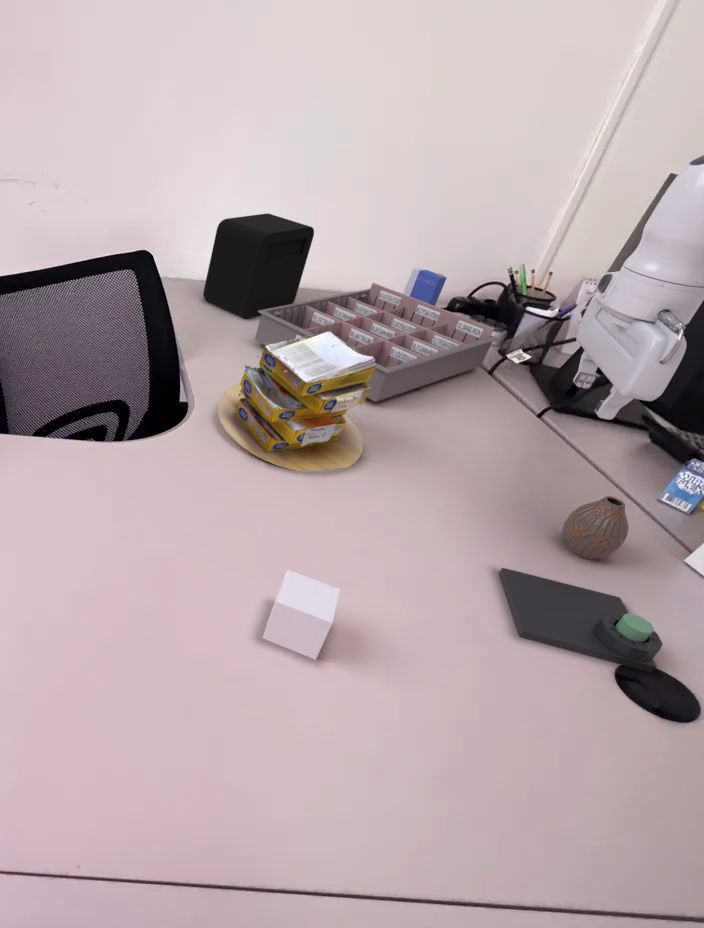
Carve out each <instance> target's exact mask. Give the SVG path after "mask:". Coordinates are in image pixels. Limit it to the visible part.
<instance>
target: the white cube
mask: <svg viewBox="0 0 704 928" xmlns="http://www.w3.org/2000/svg"><path fill="white" fill-rule="evenodd" d="M340 591H341V589H340V588H338V587H335V586H333V585H330V584H327V583H325V582H323V581H320V580H317V579H313V578H311V577H308V576H305V575H302V574H300V573H297V572H294V571H293V570H289V569H286V571H285V574H284V576H283V579H282V582H281V584H280V587H279V590H278V593H277V595H276V597H275V601H274V603H273V606H272V609H271V611H270V615H269V617H268V621H267V623H266V627H265V630H264V631H263V634H262V635H263V636H262V639H263V640H265V641H268V642H270V643H274V644H275V645H278V646H281V647H282V648H285V649H288V650H291V651H293V652H296V653H298V654H300V655H303V656H305V657H308V658H310V659H313V660H315V661H316V660H317V658H318V656H319V653H320V651H321V649H322V648H323V645H324V643H325V640H326V638H327V636H328V634H329V632H330V629H331V627H332V626H333V622H334V619H335V613H336V609H337V604H338V600H339V595H340Z"/></svg>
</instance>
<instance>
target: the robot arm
mask: <svg viewBox="0 0 704 928" xmlns="http://www.w3.org/2000/svg"><path fill="white" fill-rule="evenodd" d="M595 290H596V291H597V292H596V293H595V294H594V295H593V296H592V297H591V300H590V301H589V303H588V306H587V307H586V310H585V311H584V313H583V316H582V318H581V320H580V322H579V324H578V326H577V329H576V333H575V340H576V342H577V343H578V344H579V345H580V347H581V348H582V349H583V352H582V354H581V355H580V356H581V357H580V361H579V365H578V369H577V370H578V371H577V372H576V374H575V376H574V377H573V380H572V381H573V383H574V385H575V386H576V387H577V388H582V389H590V388H591V387H592V386H593V383H594V382H595V380H596V379H597V377H596V373H597V370H598V368H599V369H600V370H601V372H602V373H603V375H605V377H606V378H607V379H608V380H609V381H610V383H611V384H612V387H611V388H610V390H609V392H610V394H609V395H608V396H607V397H606V398H605V399H604V400H602V399H600V400H599V401H598V403H597V406H596V407H595V408H594V413H595V414H596V415H597V417H598V418H599V419H603V420H613V419H614V418H615V417H616V415H617V414H618V413H619V411H620V410H621V409H622V408H623V407H625V406H626V405H628V404H630V402H632V401H633V400H634V399H635V400H641V401H644V402H645V401H646V402H652V401H655V400H657V399H658V398H659V397H661V396H662V394H663V393H664V392H665V390H666V389H667V387H668V385H669V384H670V382H671V380H672V378H673V376H674V375H675V374H676V371H677V370H678V367H679V366H680V364H681V362H682V360H683V358H684V356H685V353H686V350H687V345H688V344H687V340H686V338H685V336H684V334H685V331H684V330H686V325H688V324H689V323H690V322H691V320H692V319H693V317H694V316H695V314H696V313H697V311H698V309H699V308H700V306H701V305H702V303H703V302H704V154H703V155H701V156H699V157H696V158H695V159H693V160H691V161H690V162H688V163H687V164H686V165H685V166H684V167H683V168H682V169H681V170H680V172H679V173H678V174H677V175H676V176H675V178H674V179H673V180H672V182H671V184H670V185H669V186H668V188H666V190H665V192H664V194H663V195H662V197H661V198H660V200H659V201H658V203H657V205H656V206H655V208H654V209H653V211H652V213H651V215H650V216H649V218H648V220H647V221H646V223H645V225H644V226H643V230H642V235H641V239H640V241H639V242H638V244H637V247H636V248H635V249H634V251H633V252H632V253H631V254H630V255H629V256H628V257H627V258H626V259H625V261H624V262H623V264H622V266H621V267H620V269H619V270H618V271H611V272H608V271H607V272H603V273H601V275H600V276H599V278H598V280H597V281H596V284H595Z"/></svg>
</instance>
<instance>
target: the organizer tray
mask: <svg viewBox="0 0 704 928" xmlns="http://www.w3.org/2000/svg"><path fill="white" fill-rule="evenodd" d="M258 312H259V313H261V314H262V315H261V316H260V319H259V322H258V326H257V330H256V334H255V337H254V341H255V342H257V343H259V344H261V345H263V346H264V347H265V346H267V345H270V344H276V343H279V342H282V341H285V340H287V342H288V341H290V340H293V339H295V338H296V339H298V338H297V337H299V338H302V337H304V338H303V339H300V340H305V339H307V338H309V337H312V336H313V335H319V334H322V333H325V332H331V333H332V334H334V335H335V336H337V337H338V338H340V339H342V341H344V342H345V343H347V344H348V345H350V346H351V347H353V348H354V349H356V350H357V351H358V352H360V353H361V354H362V355H365V356H371V357H374V359H375V364H376V369H375V371H374V372H373V374H372V376H371V378H370V380H369V381H366V384H367V385H368V386H370V388H371V389H370V392H369V394H368V396H367V397H366V399H369V400H371V401H372V402H375V403H376V402H380V401H382V400H385V399H388V398H391V397H394V396H397V395H400V394H403V393H406V392H408V391H411V390H415V389H416V390H417V388H420V387H423V386H426V385H427V386H428V385H430V384H432V383H435V382H438V381H441V380H444V379H447V378H451V377H453V376H456V375H459V374H462V373H465V372H468V371H471V370H473V369H474V370H475V369H476V368H479V367H481V366H482V365H483V363H484V361H485V358H486V357H487V354H488V352H489V350H490V348H491V346H492V344H493V342H496V341H498V340H499V338H498V337H497V336H494V335H493V332H494V331H495V328H494V327H491V326H489V325H485V324H483V323H481V322H478V321H476V320H473V319H470V318H467V317H466V316H462V315H460V314H457V313H454V312H452V311H449V310H447V309H444V308H441V307H438V306H436V305H435V306H434V305H431V304H428V303H426V302H423V301H420V300H418V299H415V298H412V297H410V296H407V295H404V294H403V293H401V292H399V291H396V290H394V289H391V288H388V287H386V286H383V285H380V284H378V283H375V282H372V283H371V286H370V288H365V289H361V290H356V291H351V292H345V293H342V294H341V293H340V294H336V295H329V296H325V297H320V298H316V299H315V298H314V299H311V300H305V301H300V302H299V301H298V302H294V303H293V304H289V305H284V306H279V307H274V308H269V309H264V310H259V311H258ZM309 335H311V336H309ZM305 336H307V337H305ZM296 339H295V340H296ZM266 343H268V344H266Z"/></svg>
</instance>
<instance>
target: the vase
mask: <svg viewBox="0 0 704 928" xmlns="http://www.w3.org/2000/svg"><path fill="white" fill-rule="evenodd" d="M629 527H630V526H629V521H628V517H627V514H626V504H625V502H624V501H623V500H622V499H620V498H617V497H615V496H611V495H608V496H607V495H606V496H604V497H602V498H600V499H599V500H595V501H592V502H588V503H585V504H582V505H581V506H579V507H577V508H576V509H574V510H573V511H572V512H570V514H569V515H568V517H567V518H566V519H565V520H564V523H563V525H562V529H561V539H562V542H563V545H564V546H565V548H566V549H567V550H568V551H569V552H571V553H572V554H574V556H575V555H576V556H578V557H579V558H582V559H586V560H601V559H604V558H607V557H609V556H611V555H613V554H614V553H616V552H617V551H618V550H619V549H620V548H622V545H624V543H625V542H626V539H627V537H628V534H629Z"/></svg>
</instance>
